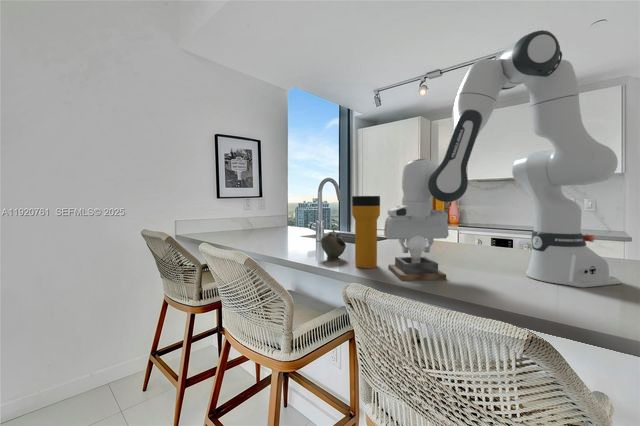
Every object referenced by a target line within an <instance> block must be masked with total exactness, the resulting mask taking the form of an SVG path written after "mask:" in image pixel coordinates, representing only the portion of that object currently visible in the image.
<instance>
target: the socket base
mask: <svg viewBox="0 0 640 426" xmlns="http://www.w3.org/2000/svg"><path fill="white" fill-rule="evenodd" d="M388 270H389V271H390V272H391V273H392V274H393V275H395V277H396V278H398V279H399V280H400V281H422V280H423V281H426V280H427V281H428V280H432V281H434V280H435V281H436V280H437V281H438V280H440V281H441V280H447V274H446V273H444V272H443V271H441V270H439V263H438V262H436V261H434V260H432V259H430V258H428V257H427V256H421V257H420V263H412V257H411V256H395V257H394V264H388Z"/></svg>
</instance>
